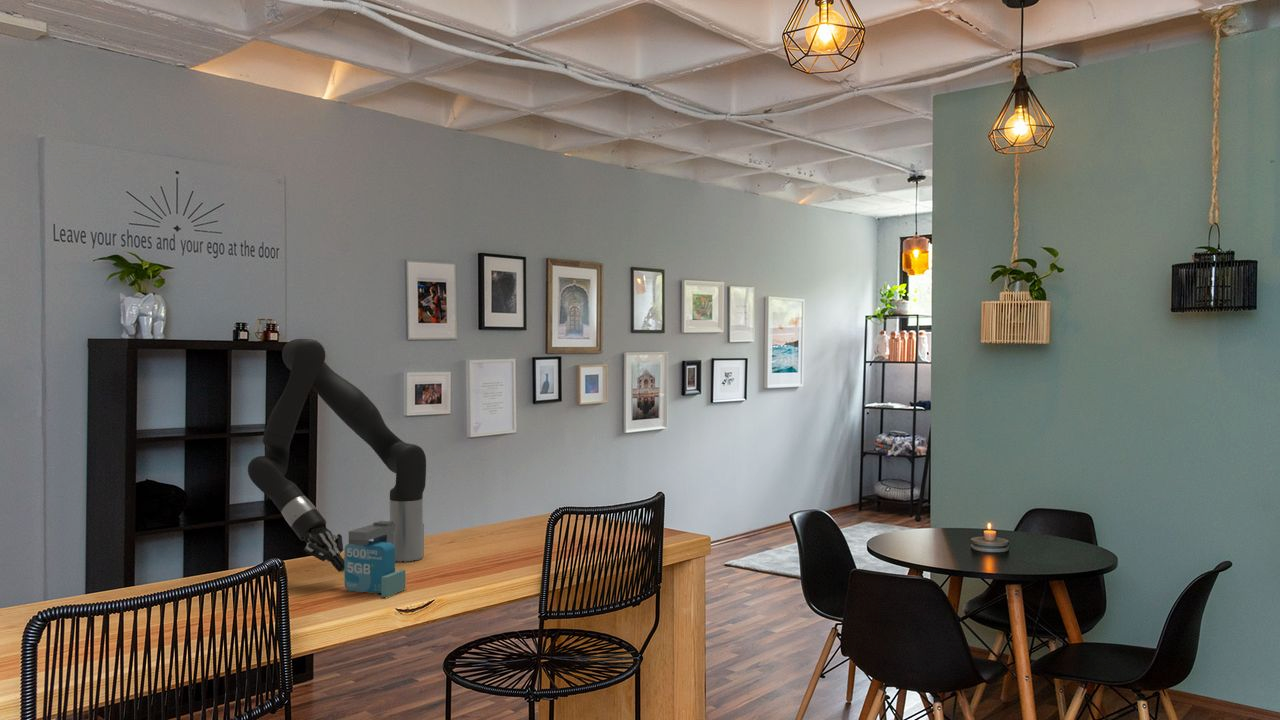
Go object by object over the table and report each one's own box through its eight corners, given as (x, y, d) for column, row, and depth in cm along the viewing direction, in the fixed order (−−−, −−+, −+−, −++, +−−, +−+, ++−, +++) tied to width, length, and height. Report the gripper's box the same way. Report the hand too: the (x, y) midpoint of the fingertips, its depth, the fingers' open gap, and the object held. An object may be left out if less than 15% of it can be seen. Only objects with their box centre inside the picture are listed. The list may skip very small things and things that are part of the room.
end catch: (400, 589, 236) (400, 569, 236) (405, 589, 235) (405, 570, 235) (381, 597, 228) (381, 576, 228) (386, 597, 228) (386, 577, 228)
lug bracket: (380, 579, 245) (380, 519, 245) (403, 582, 243) (403, 520, 243) (345, 593, 232) (345, 529, 231) (369, 596, 229) (369, 531, 229)
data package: (344, 590, 234) (343, 543, 234) (354, 586, 239) (354, 539, 239) (385, 595, 231) (385, 546, 230) (395, 590, 235) (395, 542, 235)
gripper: (294, 512, 233) (335, 565, 229) (328, 504, 246) (368, 554, 242) (277, 532, 235) (317, 585, 231) (312, 522, 247) (351, 572, 244)
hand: (343, 569), depth 236 cm, fingers closed
